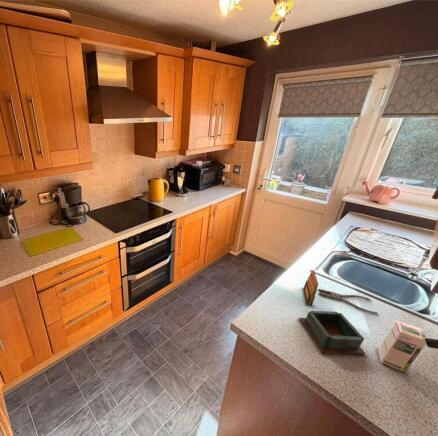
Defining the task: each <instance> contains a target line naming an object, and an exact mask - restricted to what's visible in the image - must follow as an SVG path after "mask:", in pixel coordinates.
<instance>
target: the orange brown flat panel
mask: <svg viewBox="0 0 438 436" xmlns="http://www.w3.org/2000/svg"><path fill="white" fill-rule="evenodd" d="M318 287H319V282H318V279H317V275H316V272H315V269H312V271H311V272H310V273H309V275H308V277H307V280H306V281H305V283H304V285H303V288H302V290H303V295H304V300H305V305H306V306H310V307H312V306H313V305H314V301H315V299H316V294H317V291H318Z"/></svg>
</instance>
